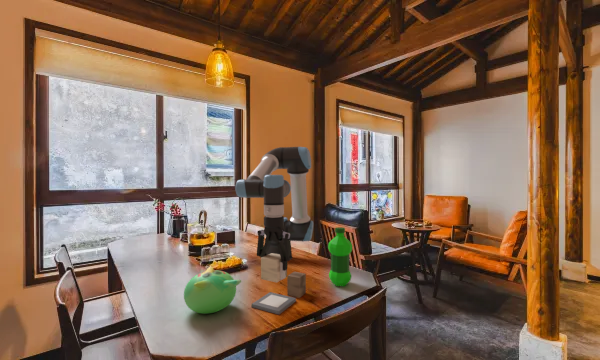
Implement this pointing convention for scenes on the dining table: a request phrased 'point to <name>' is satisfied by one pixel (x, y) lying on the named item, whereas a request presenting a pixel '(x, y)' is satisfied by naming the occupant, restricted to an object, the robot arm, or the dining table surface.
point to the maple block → (271, 267)
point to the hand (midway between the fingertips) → (274, 276)
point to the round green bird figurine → (210, 291)
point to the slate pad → (274, 303)
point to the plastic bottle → (340, 258)
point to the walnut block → (296, 284)
